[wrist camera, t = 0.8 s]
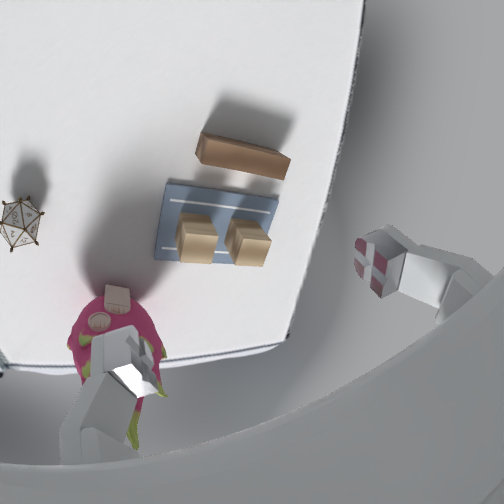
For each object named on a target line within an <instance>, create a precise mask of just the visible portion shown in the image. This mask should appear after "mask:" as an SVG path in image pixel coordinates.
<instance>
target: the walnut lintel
mask: <svg viewBox="0 0 504 504" xmlns="http://www.w3.org/2000/svg"><path fill="white" fill-rule="evenodd" d="M195 154H196V156H197V157H198V159H199V160H200V162H201V164H205V165H211V166H216V167H222V168H227V169H232V170H238V171H243V172H247V173H252V174H257V175H262V176H266V177H271V178H275V179H280V180H284V178H285V175H286V172H287V170H288V167H289V164H290V161H291V159H290V158H288V157H286V156H285V155H283V154H281V153H280V152H278V151H276V150H274V149H270V148H266V147H262V146H258V145H254V144H250V143H246V142H242V141H238V140H234V139H229V138H225V137H220V136H216V135H211V134H206V133H201V134H200V137H199V141H198V145H197V148H196V152H195Z"/></svg>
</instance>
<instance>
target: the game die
mask: <svg viewBox="0 0 504 504" xmlns="http://www.w3.org/2000/svg"><path fill="white" fill-rule="evenodd" d="M29 200H30V195H29V196H28V197H27V200H23V201H22V198H21V197H20V198H19V201H18V202H13V203H8V204H6V203H5V201H2V204H3V205H5V206H4V211H3V216H2V222H1V221H0V225H1V228H0V233H1V234H2V235H3V236H4V238H5V239H6V241H7V242H8V243H9V245H10V246H11V248H10V252H13V248H15V247H18V246H22V245H26V244H30V243H33V242H35V244H36V245H39V244H38V242H37V241H36V237H37V232H38V226H39V221H40V216H41V215H44V213H45V212H41V213H39V212H38V210H37V209H36V208H35V207H34V206H33V205H32V204H31V203H30V202H29Z"/></svg>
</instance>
